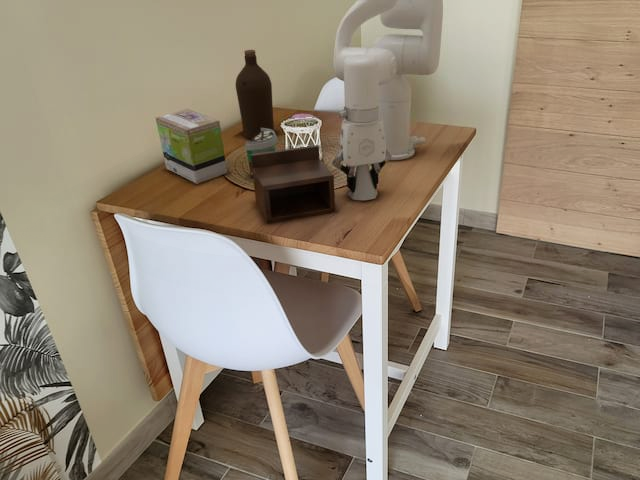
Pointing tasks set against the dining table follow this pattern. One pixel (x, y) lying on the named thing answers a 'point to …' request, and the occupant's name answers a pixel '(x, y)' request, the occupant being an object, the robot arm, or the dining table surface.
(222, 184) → the dining table surface
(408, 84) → the robot arm
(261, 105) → the olive oil
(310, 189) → the spice shelf
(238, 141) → the dining table surface
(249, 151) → the food container
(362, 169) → the flask
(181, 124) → the tea box
